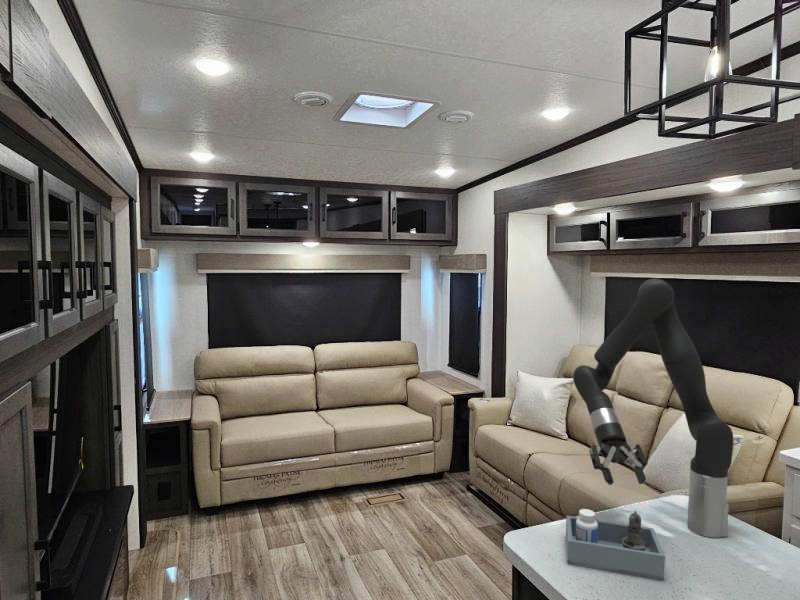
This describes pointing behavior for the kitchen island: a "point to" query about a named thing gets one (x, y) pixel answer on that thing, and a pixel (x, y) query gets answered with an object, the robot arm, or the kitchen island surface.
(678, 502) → the kitchen island surface
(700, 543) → the kitchen island surface
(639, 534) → the grey stone chess piece
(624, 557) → the tote
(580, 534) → the pill bottle
